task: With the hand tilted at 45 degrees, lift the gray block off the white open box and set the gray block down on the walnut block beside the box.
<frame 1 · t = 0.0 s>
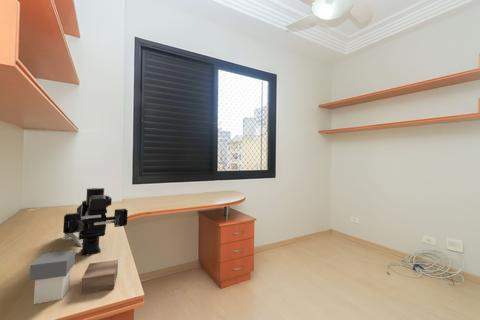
hand: (100, 225, 70), 17 cm above the table, tool horizontal, fingers open, 9 cm apart
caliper: (73, 242, 99), on the table
gray block: (54, 271, 59), point 6 cm above the table, touching white open box
walnut block: (100, 283, 66), on the table
white open box: (52, 294, 59), on the table
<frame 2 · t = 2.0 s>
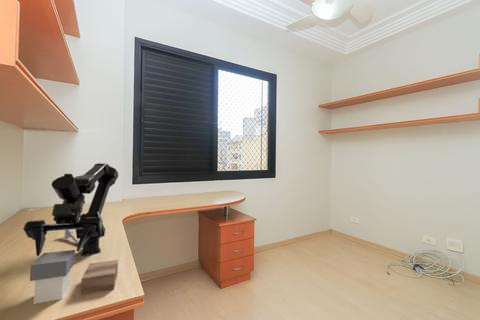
hand: (58, 253, 62), 10 cm above the table, tool tilted 45°, fingers open, 9 cm apart
nothing on the table moved.
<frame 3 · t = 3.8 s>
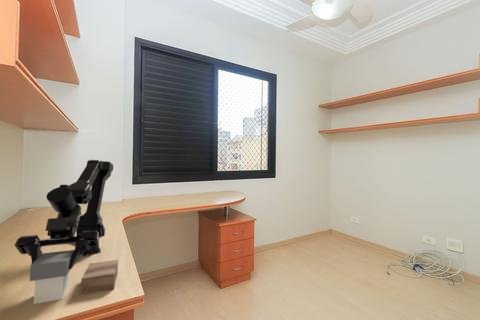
hand: (52, 271, 58), 7 cm above the table, tool tilted 45°, fingers closed on gray block, 7 cm apart
gray block: (54, 271, 59), point 6 cm above the table, touching gripper, white open box
everything else where it was.
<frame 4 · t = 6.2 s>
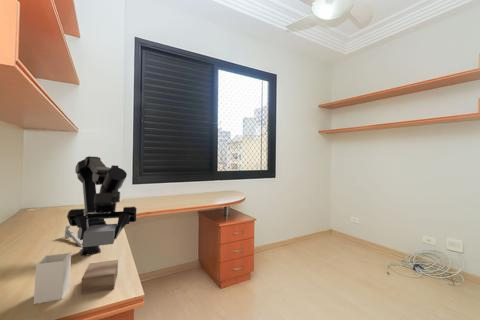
hand: (100, 240, 65), 14 cm above the table, tool tilted 45°, fingers closed on gray block, 7 cm apart
gray block: (101, 241, 66), point 13 cm above the table, touching gripper
everything else where it was.
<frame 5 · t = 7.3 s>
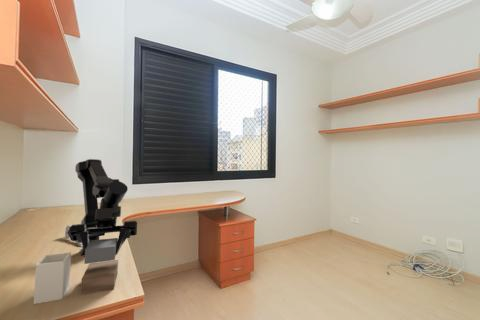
hand: (101, 255, 65), 9 cm above the table, tool tilted 45°, fingers closed on gray block, 7 cm apart
gray block: (102, 256, 66), point 8 cm above the table, touching gripper
everything else where it was.
when the fingers open (7 cm above the table, at t = 8.4 s): gray block drops 1 cm, resting on walnut block.
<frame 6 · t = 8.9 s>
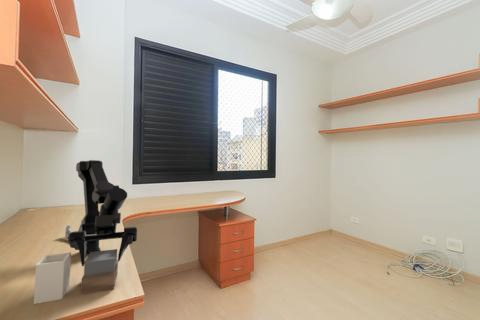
hand: (101, 263, 65), 7 cm above the table, tool tilted 45°, fingers open, 9 cm apart
gray block: (101, 268, 66), point 4 cm above the table, touching walnut block
everything else where it was.
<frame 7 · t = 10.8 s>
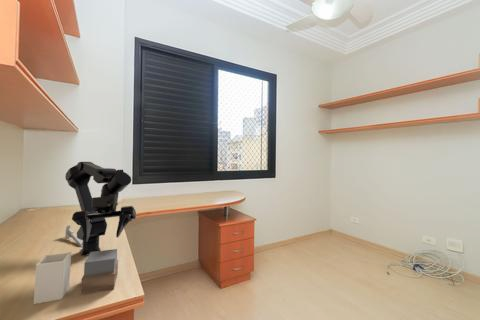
hand: (101, 239, 71), 11 cm above the table, tool tilted 40°, fingers open, 9 cm apart
nothing on the table moved.
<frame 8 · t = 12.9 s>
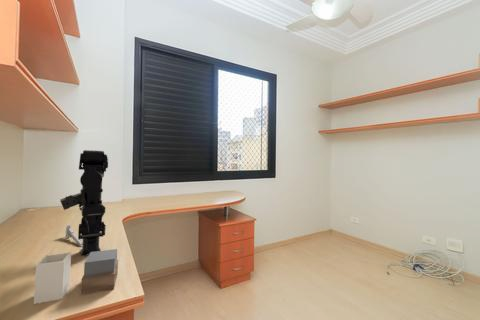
hand: (90, 230, 75), 13 cm above the table, tool pointing down, fingers open, 9 cm apart
nothing on the table moved.
at the end: gray block 0.0 cm off-centre on the walnut block, point 4.5 cm above the walnut block's base; gray block tilted 0°; gray block touching walnut block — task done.
